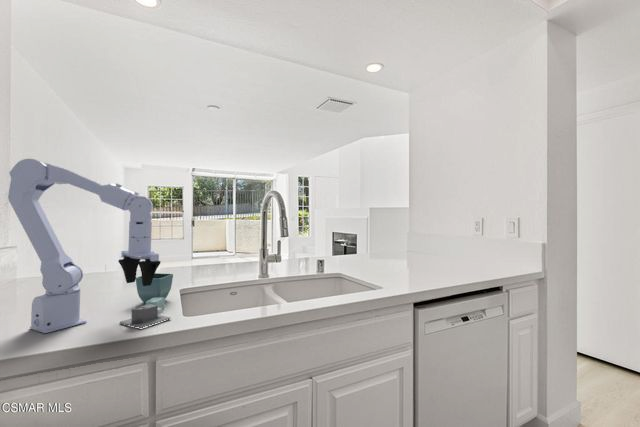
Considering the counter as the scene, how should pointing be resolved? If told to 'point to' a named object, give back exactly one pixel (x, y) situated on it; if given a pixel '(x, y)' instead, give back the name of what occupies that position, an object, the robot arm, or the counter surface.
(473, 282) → the counter surface
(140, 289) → the flower pot
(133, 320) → the white-capped grey post
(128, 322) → the coaster
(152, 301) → the teal plug
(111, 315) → the counter surface
